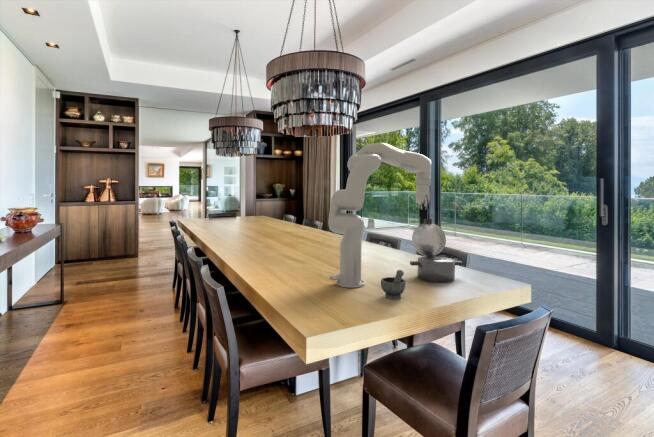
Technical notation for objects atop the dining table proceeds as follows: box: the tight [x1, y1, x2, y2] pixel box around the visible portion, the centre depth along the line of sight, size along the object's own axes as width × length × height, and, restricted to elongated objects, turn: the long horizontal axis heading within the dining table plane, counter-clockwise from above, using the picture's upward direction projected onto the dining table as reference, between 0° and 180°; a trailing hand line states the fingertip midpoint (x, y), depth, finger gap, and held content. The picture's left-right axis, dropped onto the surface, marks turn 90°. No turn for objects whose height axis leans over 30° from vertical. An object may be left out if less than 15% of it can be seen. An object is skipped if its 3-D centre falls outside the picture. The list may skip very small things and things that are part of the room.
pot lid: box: [411, 218, 447, 257], centre depth 181 cm, size 17×19×3 cm
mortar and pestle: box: [380, 269, 407, 301], centre depth 140 cm, size 11×9×12 cm
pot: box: [409, 255, 464, 284], centre depth 171 cm, size 25×18×9 cm
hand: (422, 216), depth 191 cm, fingers closed
